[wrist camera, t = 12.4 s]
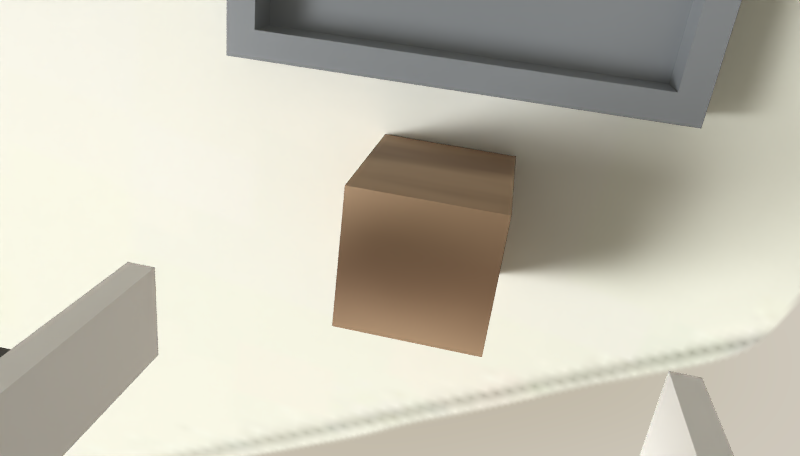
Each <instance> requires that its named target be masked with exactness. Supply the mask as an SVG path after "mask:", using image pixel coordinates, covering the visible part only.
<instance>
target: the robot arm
mask: <svg viewBox="0 0 800 456" xmlns="http://www.w3.org/2000/svg"><path fill="white" fill-rule="evenodd" d="M157 356H158V336H157V311H156V287H155V267H150V266H145V265H140V264H135V263H130V262H127V263H126V264H125V265H123V266H122V267H121V268H119V269H118V270H117V271H115V272H114V273H113V274H111V275H110V276H109V277H107V278H106V279H105V280H103V281H102V282H101V283H99V284H98V285H96V286H95V287H94V288H92V289H91V290H90V291H88V292H87V293H86V294H84V295H83V296H82V297H80V298H79V299H78V300H76V301H75V302H74V303H72V304H71V305H70V306H68V307H67V308H66V309H64V310H63V311H62V312H60V313H59V314H58V315H56V316H55V317H54V318H52V319H51V320H50V321H48V322H47V323H46V324H44V325H43V326H42V327H40V328H39V329H38V330H36V331H35V332H34V333H32V334H31V335H30V336H28V337H27V338H26V339H24V340H23V341H22V342H20V343H19V344H18V345H16V346H15V347H14V348H12V349H11V350H10V349H6V348H1V347H0V456H63V455H64V454H65V453H66V452H67V451H68V450H69V449H70V448H71V447H72V446H73V444H74V443H75V442H76V441H77V440H78V439H79V438H80V437H81V436H82V435H83V434H84V433H85V432H86V431H87V430H88V429H89V428H90V426H91V425H92V424H93V423H94V422H95V421H96V420H97V419H98V418H99V417H100V416H101V415H102V414H103V413H104V412H105V411H106V410H107V408H108V407H109V406H110V405H111V404H112V403H113V402H114V401H115V400H116V399H117V398H118V397H119V396H120V395H121V394H122V393H123V392H124V390H125V389H126V388H127V387H128V386H129V385H130V384H131V383H132V382H133V381H134V380H135V379H136V378H137V377H138V376H139V375H140V374H141V372H142V371H143V370H144V369H145V368H146V367H147V366H148V365H149V364H150V363H151V362H152V361H153V360H154V359H155V358H156V357H157ZM640 456H734V455H733V452H732V450H731V447H730V445H729V443H728V440H727V438H726V435H725V433H724V430H723V428H722V425H721V423H720V421H719V418H718V416H717V413H716V411H715V408H714V406H713V403H712V401H711V398H710V396H709V393H708V391H707V388H706V386H705V384H704V381H703V379H702V378H701V377H696V376H691V375H686V374H681V373H676V372H671V371H669V372H668V375H667V378H666V380H665V383H664V386H663V389H662V392H661V395H660V398H659V401H658V404H657V407H656V409H655V412H654V416H653V418H652V421H651V424H650V427H649V430H648V433H647V436H646V438H645V441H644V444H643V448H642V450H641V453H640Z"/></svg>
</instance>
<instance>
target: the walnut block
mask: <svg viewBox="0 0 800 456" xmlns="http://www.w3.org/2000/svg"><path fill="white" fill-rule="evenodd" d="M515 160H516V156H510V155H504V154H498V153H492V152H487V151H481V150H475V149H469V148H463V147H457V146H451V145H446V144H440V143H434V142H428V141H422V140H416V139H410V138H404V137H399V136H393V135H387V134H385V135H384V137H383V138H382V139H381V140H380V142H379V143H378V144H377V145H376V147H375V148H374V149H373V151H372V152H371V153H370V154H369V156H368V157H367V158H366V159H365V161H364V162H363V163H362V164H361V166H360V167H359V168H358V170H357V171H356V172H355V173H354V175H353V176H352V177H351V178H350V180H349V181H348V182H347V183H346V185H345V191H344V202H343V213H342V224H341V235H340V246H339V257H338V268H337V279H336V290H335V301H334V312H333V323H332V326H336V327H340V328H345V329H350V330H355V331H359V332H364V333H369V334H374V335H379V336H383V337H388V338H393V339H398V340H402V341H407V342H412V343H417V344H422V345H426V346H431V347H436V348H441V349H446V350H450V351H455V352H460V353H465V354H469V355H474V356H479V357H482V354H483V349H484V344H485V339H486V335H487V330H488V325H489V320H490V316H491V311H492V306H493V301H494V297H495V292H496V287H497V282H498V277H499V273H500V268H501V263H502V258H503V254H504V249H505V244H506V239H507V234H508V230H509V225H510V220H511V215H512V201H513V187H514V174H515Z"/></svg>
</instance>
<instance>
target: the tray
mask: <svg viewBox="0 0 800 456" xmlns="http://www.w3.org/2000/svg"><path fill="white" fill-rule="evenodd" d="M741 1H742V0H227V55H228V56H234V57H241V58H247V59H254V60H260V61H267V62H273V63H280V64H286V65H293V66H299V67H306V68H312V69H319V70H325V71H332V72H338V73H345V74H351V75H358V76H364V77H371V78H377V79H384V80H390V81H396V82H403V83H409V84H416V85H422V86H429V87H435V88H442V89H448V90H455V91H461V92H468V93H474V94H481V95H487V96H494V97H500V98H507V99H513V100H520V101H526V102H533V103H539V104H546V105H552V106H559V107H565V108H572V109H578V110H585V111H591V112H598V113H604V114H611V115H617V116H624V117H630V118H637V119H643V120H650V121H656V122H663V123H669V124H676V125H682V126H689V127H695V128H701V127H702V124H703V121H704V118H705V115H706V112H707V108H708V105H709V102H710V99H711V96H712V93H713V89H714V86H715V83H716V80H717V77H718V74H719V70H720V67H721V64H722V61H723V58H724V55H725V51H726V48H727V45H728V42H729V39H730V36H731V32H732V29H733V26H734V23H735V20H736V17H737V14H738V10H739V7H740V4H741Z"/></svg>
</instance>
